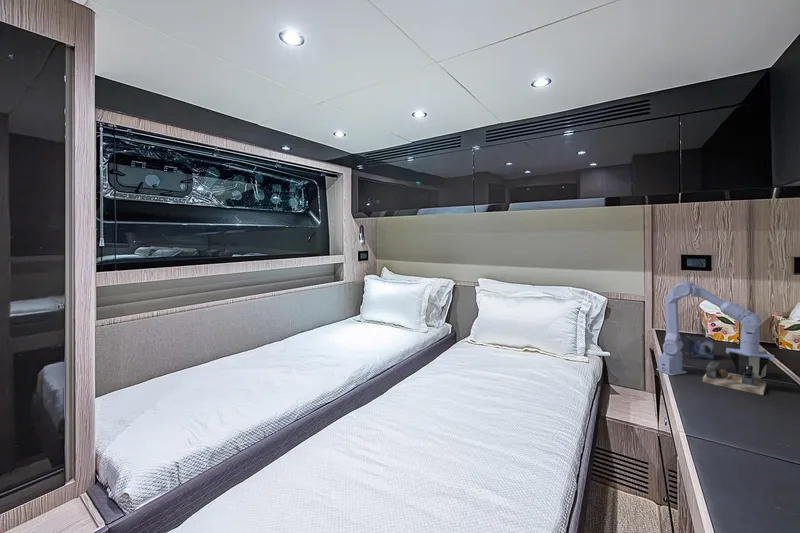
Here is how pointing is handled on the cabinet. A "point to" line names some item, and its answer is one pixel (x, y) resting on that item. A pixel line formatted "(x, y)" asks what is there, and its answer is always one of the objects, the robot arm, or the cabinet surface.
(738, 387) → the press
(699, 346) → the small box
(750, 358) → the skincare box
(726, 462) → the cabinet surface
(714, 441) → the cabinet surface
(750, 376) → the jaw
